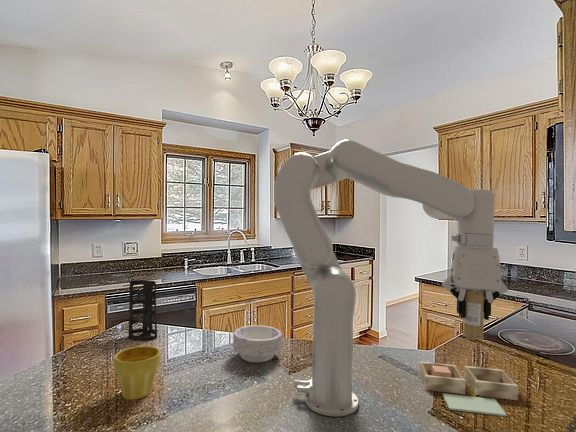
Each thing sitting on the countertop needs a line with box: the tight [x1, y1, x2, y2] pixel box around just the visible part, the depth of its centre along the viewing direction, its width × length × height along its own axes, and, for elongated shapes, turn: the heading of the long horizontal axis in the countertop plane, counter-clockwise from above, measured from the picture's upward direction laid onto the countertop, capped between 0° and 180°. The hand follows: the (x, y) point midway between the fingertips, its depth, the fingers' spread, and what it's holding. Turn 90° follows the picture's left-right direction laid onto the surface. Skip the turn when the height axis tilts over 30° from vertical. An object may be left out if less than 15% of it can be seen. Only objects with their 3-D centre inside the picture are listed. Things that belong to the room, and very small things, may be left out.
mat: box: [442, 392, 508, 417], centre depth 83 cm, size 12×7×1 cm, turn 78°
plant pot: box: [113, 345, 161, 401], centre depth 85 cm, size 10×10×10 cm
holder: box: [128, 279, 158, 341], centre depth 125 cm, size 11×8×20 cm
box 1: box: [418, 361, 467, 395], centre depth 93 cm, size 10×10×4 cm
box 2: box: [463, 365, 519, 401], centre depth 91 cm, size 10×10×4 cm
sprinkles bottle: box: [462, 289, 485, 341], centre depth 83 cm, size 5×5×13 cm
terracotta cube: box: [431, 365, 451, 378], centre depth 93 cm, size 4×4×4 cm
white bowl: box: [232, 324, 283, 364], centre depth 109 cm, size 15×15×8 cm
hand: (473, 316), depth 83 cm, fingers closed on sprinkles bottle, 4 cm apart
